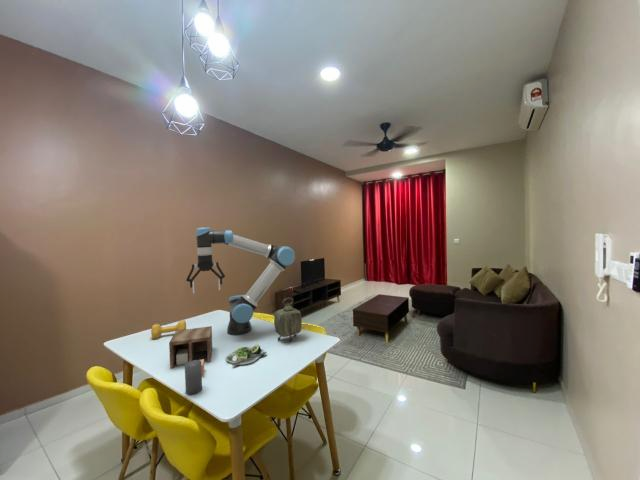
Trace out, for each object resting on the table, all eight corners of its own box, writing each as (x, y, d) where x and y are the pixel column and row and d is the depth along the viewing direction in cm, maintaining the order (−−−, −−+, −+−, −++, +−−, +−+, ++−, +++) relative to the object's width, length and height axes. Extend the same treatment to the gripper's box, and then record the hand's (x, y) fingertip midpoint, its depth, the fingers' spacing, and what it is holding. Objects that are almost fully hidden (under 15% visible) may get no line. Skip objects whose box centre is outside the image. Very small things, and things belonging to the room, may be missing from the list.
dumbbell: (150, 341, 155) (150, 327, 155) (153, 335, 164) (152, 323, 163) (185, 335, 163) (185, 322, 163) (186, 330, 171) (186, 318, 171)
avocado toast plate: (246, 372, 119) (246, 362, 119) (216, 365, 125) (216, 355, 125) (270, 353, 137) (269, 344, 137) (242, 348, 143) (242, 340, 143)
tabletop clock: (296, 334, 160) (295, 294, 160) (303, 339, 153) (302, 297, 152) (274, 340, 152) (273, 298, 152) (280, 345, 145) (279, 301, 144)
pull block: (205, 369, 121) (204, 346, 121) (201, 392, 103) (200, 365, 103) (191, 372, 119) (190, 348, 119) (184, 396, 101) (183, 368, 101)
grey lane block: (189, 357, 133) (189, 348, 133) (187, 363, 128) (187, 353, 127) (178, 359, 132) (178, 349, 131) (176, 365, 126) (176, 355, 126)
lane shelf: (212, 348, 143) (211, 326, 143) (210, 361, 128) (209, 336, 128) (176, 354, 137) (175, 330, 137) (170, 368, 122) (169, 342, 122)
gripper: (227, 252, 156) (229, 287, 157) (180, 255, 146) (183, 293, 147) (228, 253, 149) (230, 290, 150) (179, 256, 139) (181, 295, 140)
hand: (206, 291), depth 148 cm, fingers open, 13 cm apart
